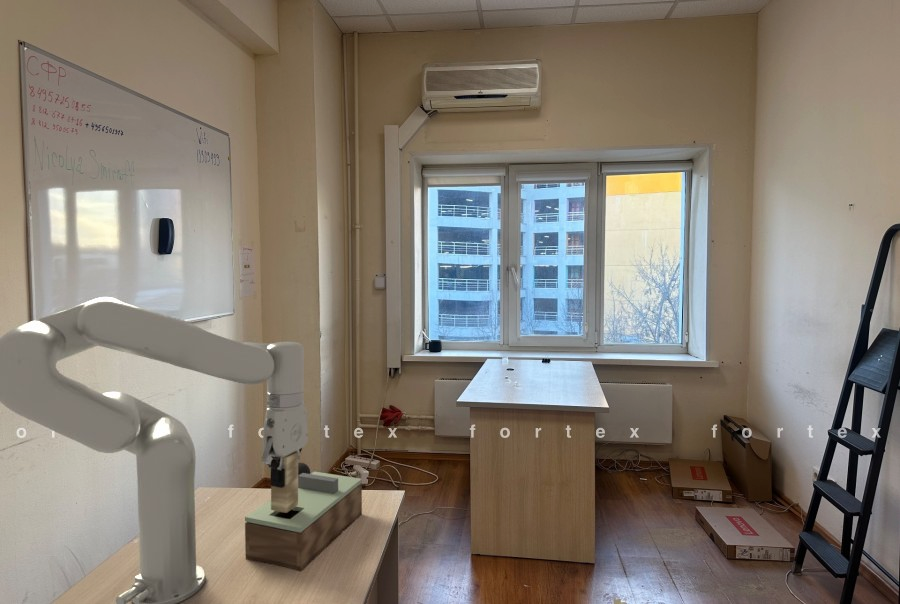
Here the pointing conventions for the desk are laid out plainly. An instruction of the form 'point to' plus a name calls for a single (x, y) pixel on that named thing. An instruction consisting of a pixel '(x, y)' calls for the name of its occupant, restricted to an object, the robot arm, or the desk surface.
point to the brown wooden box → (301, 535)
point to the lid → (307, 501)
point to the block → (287, 486)
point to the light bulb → (303, 468)
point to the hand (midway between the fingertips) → (284, 481)
